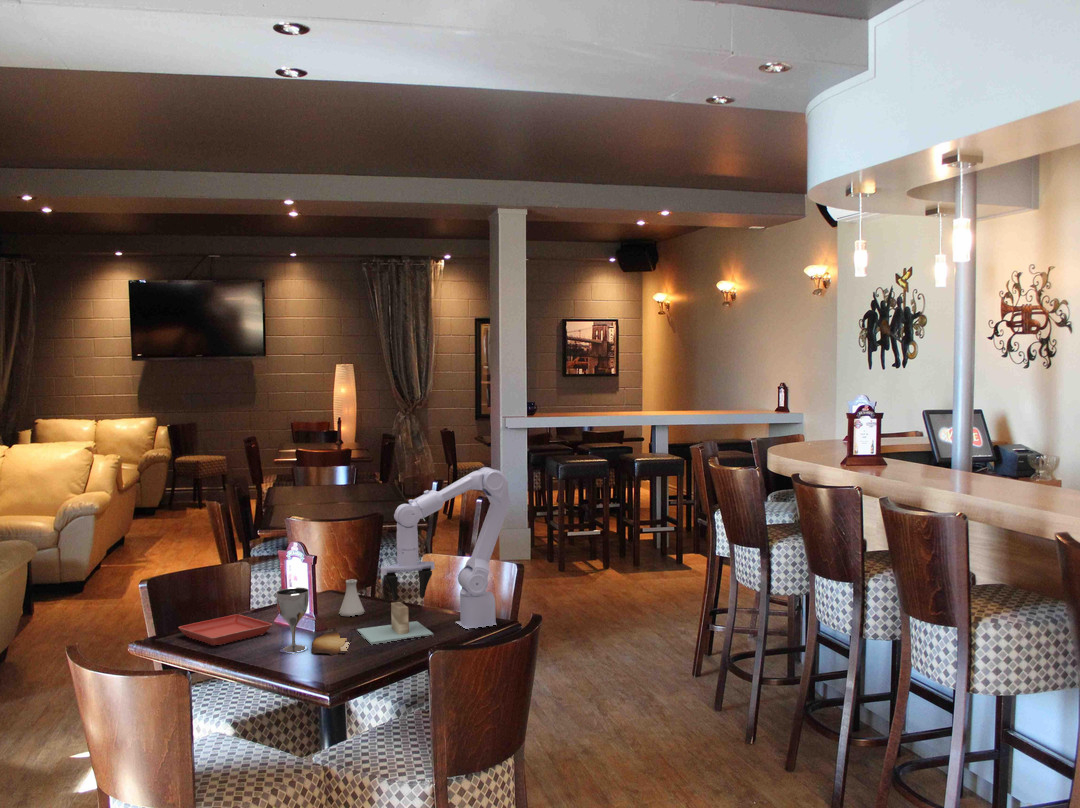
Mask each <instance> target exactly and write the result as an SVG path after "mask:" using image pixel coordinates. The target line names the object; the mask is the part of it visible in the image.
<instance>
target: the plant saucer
mask: <svg viewBox="0 0 1080 808" xmlns="http://www.w3.org/2000/svg"><path fill="white" fill-rule="evenodd" d="M272 626H273V623H270V622H267V621H264V620H260V619H256V618H253V617H249V616H245V615H243V614H232V615H226V616H222V617H217V618H212V619H209V620H202V621H199V622H193V623H189V624H184V625H180V626H178V630H180V632H181V633H182V634H184V636H185V637H187V638H188V637H189V638H188V639H191V638H192V639H191V640H194V639H196V640H195V641H197V640H199V641H198V642H200V641H202V642H201V643H203V642H205V643H204V644H206V643H208V644H207V645H209V644H211V645H210V646H212V645H220V644H224V643H228V644H230V643H229V642H232V643H234V642H233V641H236V642H238V641H237V640H240V641H242V640H241V639H244V640H247V639H246V638H248V639H251V638H250V637H252V638H255V637H254V636H256V637H258V636H257V635H260V636H262V635H261V634H263V635H265V634H266V633H267V632H268V631H269V630H270V629H271V627H272ZM264 633H265V634H264ZM224 645H225V644H224ZM220 646H221V645H220Z"/></svg>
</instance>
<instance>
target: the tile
mask: <svg viewBox="0 0 1080 808" xmlns="http://www.w3.org/2000/svg"><path fill="white" fill-rule="evenodd" d="M390 605H391V607H390V608H391V610H390V615H391V617H390V618H391V625H392V629H393V630H394V631H395V632H397V633H398V634H399V635H400V634H407V633H408V632H409V622H410V619H409V617H410V616H409V615H410V613H409V611H410V609H409V607H408V606H407V605H405V604H404V603H403V602H401V601H394V602H391V603H390Z"/></svg>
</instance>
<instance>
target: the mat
mask: <svg viewBox="0 0 1080 808" xmlns="http://www.w3.org/2000/svg"><path fill="white" fill-rule="evenodd" d="M357 631H358V632H359V633H360V634H361V635H360V634H359V633H358V632H357ZM356 632H357V633H358V634H359V635H360V637H362V638H363V639H364V640H365V639H366V640H367V641H368V642H369V643H370V644H371V645H370V644H369V643H368V642H367V641H366V640H365V641H366V642H367V643H368V644H369V645H370V646H374V645H373V644H376V645H380V644H379V643H383V644H388V643H387V642H390V643H392V642H391V641H397V640H401V639H407V638H414V637H421V636H429V635H433V636H434V632H432V631H431V630H430V629H428V628H427V627H426V626H425V625H422V623H420V622H419V621H418V620H416V621H409V632H408V633H407V634H400V635H399V634H398V633H397V632H395V631H394V630H393V629H392V624H387V625H386V624H385V625H378V626H370V627H363V628H357V629H356ZM397 642H398V641H397Z"/></svg>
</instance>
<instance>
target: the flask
mask: <svg viewBox="0 0 1080 808" xmlns="http://www.w3.org/2000/svg"><path fill="white" fill-rule="evenodd" d="M357 583H358V580H357V579H346V580H345V585H346V588H345V594H344V597H343V600H342V604H341V607H340V609H339V612H338V615H339V614H340V615H339V616H342V617H350V616H352V617H356V616H355V615H358V616H361V615H363V614H365V613H366V611H365V608H364V606H363V605H362V601H361V599H360V596H359V594H358V589H357ZM364 612H365V613H364Z"/></svg>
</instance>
